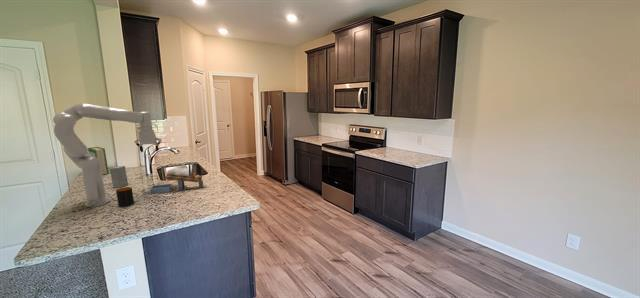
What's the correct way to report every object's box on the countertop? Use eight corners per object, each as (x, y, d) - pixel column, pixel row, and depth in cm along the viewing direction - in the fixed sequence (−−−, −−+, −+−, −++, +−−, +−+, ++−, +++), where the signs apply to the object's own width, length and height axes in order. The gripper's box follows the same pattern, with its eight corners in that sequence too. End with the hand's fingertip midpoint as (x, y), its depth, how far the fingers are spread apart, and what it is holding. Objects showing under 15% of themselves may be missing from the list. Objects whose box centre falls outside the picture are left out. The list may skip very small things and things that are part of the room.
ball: (199, 180, 203) (200, 176, 203) (194, 180, 202) (195, 175, 202) (200, 179, 207) (200, 174, 206) (195, 178, 206) (195, 174, 205)
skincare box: (121, 188, 208) (117, 168, 205) (112, 188, 208) (108, 168, 205) (128, 184, 216) (126, 165, 213) (120, 184, 216) (117, 165, 213)
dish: (169, 192, 197) (169, 187, 196) (150, 194, 193) (149, 189, 192) (172, 188, 205) (171, 183, 204) (153, 190, 201) (153, 185, 200)
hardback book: (108, 174, 248) (104, 148, 243) (99, 176, 242) (94, 149, 237) (101, 171, 258) (97, 146, 253) (92, 173, 252) (87, 148, 247)
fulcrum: (187, 186, 209) (186, 175, 208) (184, 191, 198) (183, 180, 196) (179, 187, 207) (177, 176, 206) (175, 192, 196) (174, 181, 195)
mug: (119, 209, 166) (117, 193, 164) (118, 204, 175) (115, 189, 173) (135, 206, 171) (133, 190, 169) (133, 201, 180) (131, 186, 178)
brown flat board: (203, 176, 218) (203, 171, 218) (200, 182, 202) (201, 177, 202) (169, 173, 211) (170, 168, 210) (163, 179, 195) (164, 173, 194)
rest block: (202, 188, 204) (201, 182, 203) (199, 188, 204) (198, 182, 203) (203, 186, 209) (202, 180, 208) (199, 186, 208) (199, 180, 208)
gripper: (130, 129, 191) (134, 153, 194) (158, 128, 196) (161, 151, 199) (134, 128, 198) (137, 151, 201) (161, 127, 203) (163, 149, 206)
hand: (149, 151), depth 200 cm, fingers open, 9 cm apart
